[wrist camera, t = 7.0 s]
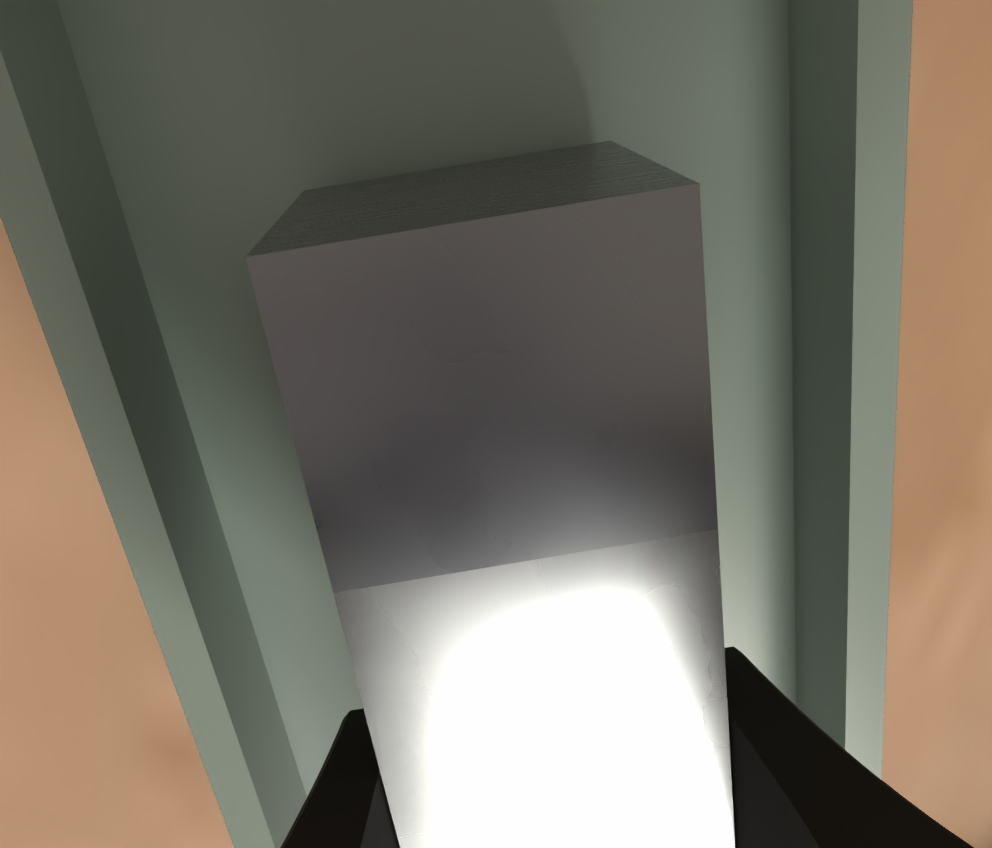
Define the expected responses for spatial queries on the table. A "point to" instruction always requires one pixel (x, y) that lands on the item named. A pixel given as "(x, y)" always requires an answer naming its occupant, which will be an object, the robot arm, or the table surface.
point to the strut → (516, 491)
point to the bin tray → (432, 145)
